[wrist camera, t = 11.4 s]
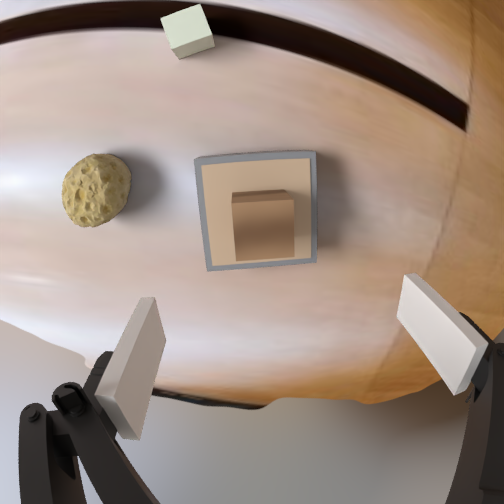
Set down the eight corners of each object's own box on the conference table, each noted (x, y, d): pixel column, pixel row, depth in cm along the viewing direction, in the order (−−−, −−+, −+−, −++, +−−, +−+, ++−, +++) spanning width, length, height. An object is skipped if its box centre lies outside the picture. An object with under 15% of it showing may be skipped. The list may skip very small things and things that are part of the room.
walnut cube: (232, 192, 34) (231, 203, 28) (284, 189, 34) (293, 199, 28) (236, 241, 36) (236, 261, 30) (285, 238, 36) (294, 257, 30)
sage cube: (168, 31, 30) (160, 18, 25) (203, 18, 30) (200, 4, 25) (179, 59, 32) (171, 49, 27) (215, 46, 31) (212, 34, 27)
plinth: (199, 156, 37) (193, 159, 32) (305, 149, 37) (316, 151, 32) (210, 256, 42) (207, 272, 37) (308, 248, 42) (316, 263, 37)
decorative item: (105, 151, 39) (46, 165, 31) (140, 144, 34) (69, 158, 26) (114, 210, 43) (59, 230, 35) (149, 215, 37) (84, 240, 30)
